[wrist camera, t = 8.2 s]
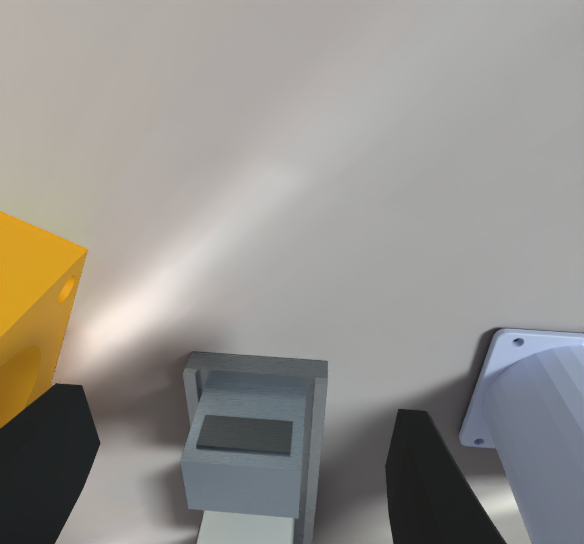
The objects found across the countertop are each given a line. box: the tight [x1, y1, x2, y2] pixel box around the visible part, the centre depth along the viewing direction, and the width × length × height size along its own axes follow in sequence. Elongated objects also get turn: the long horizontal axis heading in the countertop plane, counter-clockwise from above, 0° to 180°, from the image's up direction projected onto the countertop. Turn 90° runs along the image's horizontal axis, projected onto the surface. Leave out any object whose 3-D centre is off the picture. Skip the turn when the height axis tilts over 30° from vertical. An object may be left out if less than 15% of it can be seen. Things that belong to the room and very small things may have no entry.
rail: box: [180, 352, 328, 544], centre depth 25 cm, size 7×20×6 cm, turn 178°
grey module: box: [195, 510, 295, 544], centre depth 24 cm, size 5×6×5 cm
